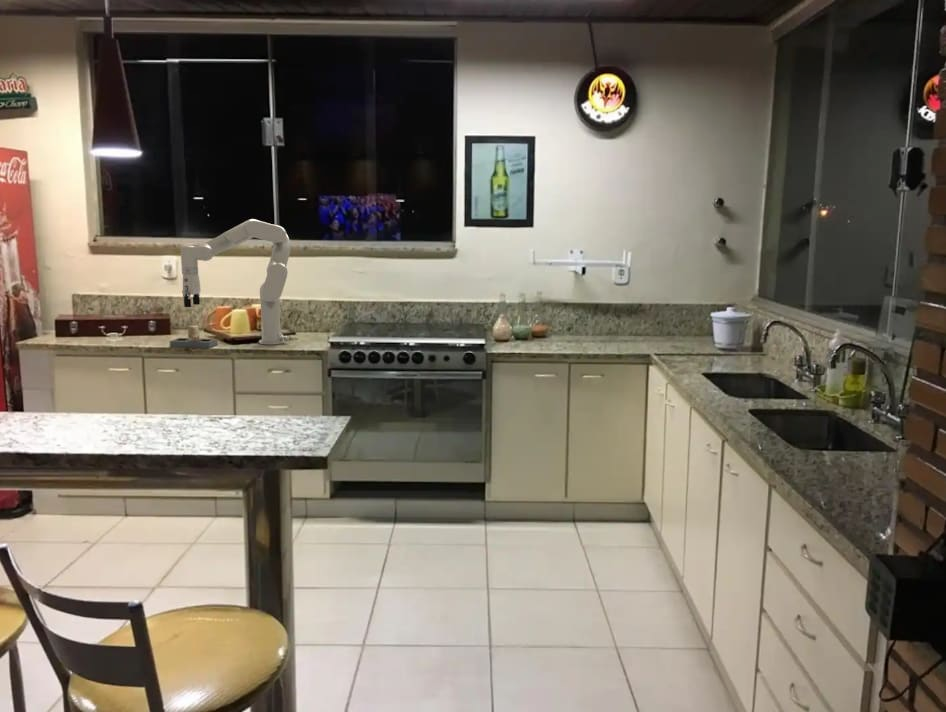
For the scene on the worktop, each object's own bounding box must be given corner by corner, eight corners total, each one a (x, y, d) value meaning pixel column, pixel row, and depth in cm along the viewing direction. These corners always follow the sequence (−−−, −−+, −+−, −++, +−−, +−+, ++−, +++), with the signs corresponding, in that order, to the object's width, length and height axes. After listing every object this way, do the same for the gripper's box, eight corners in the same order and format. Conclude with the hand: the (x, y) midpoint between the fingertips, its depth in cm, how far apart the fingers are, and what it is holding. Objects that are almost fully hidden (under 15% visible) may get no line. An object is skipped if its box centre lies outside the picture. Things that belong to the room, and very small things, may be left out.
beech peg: (199, 345, 385) (198, 325, 383) (196, 346, 381) (195, 326, 379) (192, 345, 386) (191, 325, 384) (188, 346, 382) (187, 326, 380)
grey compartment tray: (217, 344, 388) (217, 338, 387) (209, 348, 378) (209, 342, 377) (179, 343, 389) (179, 337, 389) (170, 347, 379) (169, 341, 379)
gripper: (189, 272, 367) (191, 308, 371) (205, 269, 384) (206, 303, 388) (174, 272, 368) (176, 308, 371) (190, 269, 385) (192, 303, 388)
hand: (192, 305), depth 380 cm, fingers open, 9 cm apart
